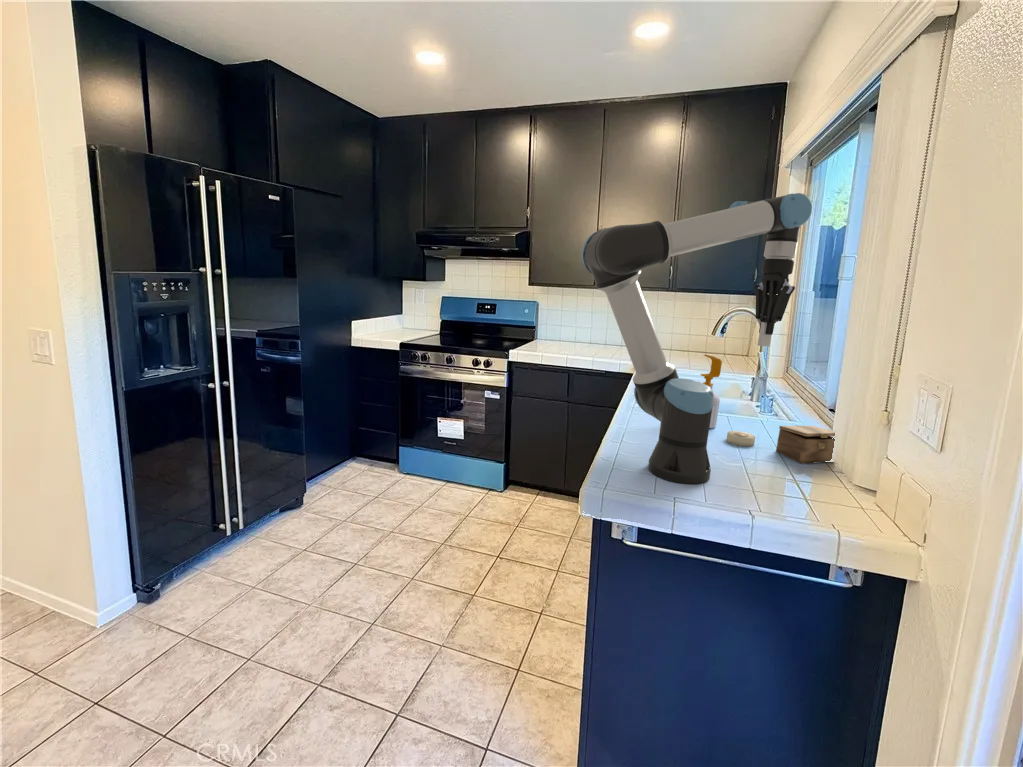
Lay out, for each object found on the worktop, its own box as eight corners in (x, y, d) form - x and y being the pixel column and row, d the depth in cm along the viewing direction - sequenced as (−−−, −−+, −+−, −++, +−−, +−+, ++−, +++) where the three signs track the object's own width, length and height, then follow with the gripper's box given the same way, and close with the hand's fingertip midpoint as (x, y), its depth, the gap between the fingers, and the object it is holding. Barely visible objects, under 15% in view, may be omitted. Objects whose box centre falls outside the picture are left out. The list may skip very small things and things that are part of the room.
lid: (806, 438, 138) (807, 433, 137) (779, 429, 148) (779, 425, 148) (841, 437, 140) (841, 433, 140) (811, 429, 150) (812, 425, 150)
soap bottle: (682, 422, 175) (691, 353, 170) (702, 420, 179) (712, 352, 174) (701, 429, 167) (711, 357, 162) (721, 428, 171) (732, 357, 165)
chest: (801, 463, 140) (806, 440, 138) (775, 451, 149) (779, 428, 148) (834, 462, 142) (839, 439, 140) (807, 450, 152) (811, 428, 150)
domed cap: (737, 446, 151) (738, 438, 151) (721, 438, 159) (722, 430, 159) (759, 446, 153) (761, 438, 153) (743, 438, 161) (744, 430, 160)
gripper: (809, 259, 128) (792, 350, 133) (774, 260, 141) (759, 343, 146) (784, 257, 127) (767, 349, 132) (750, 258, 139) (736, 342, 144)
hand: (763, 345), depth 139 cm, fingers closed
